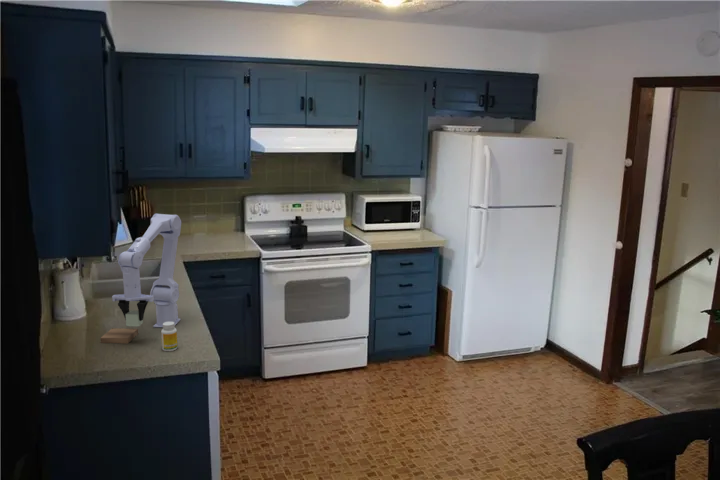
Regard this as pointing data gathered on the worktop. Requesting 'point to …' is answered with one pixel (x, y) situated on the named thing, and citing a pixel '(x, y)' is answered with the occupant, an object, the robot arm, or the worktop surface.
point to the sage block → (133, 318)
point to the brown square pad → (119, 335)
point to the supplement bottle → (169, 336)
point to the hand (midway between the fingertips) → (134, 319)
